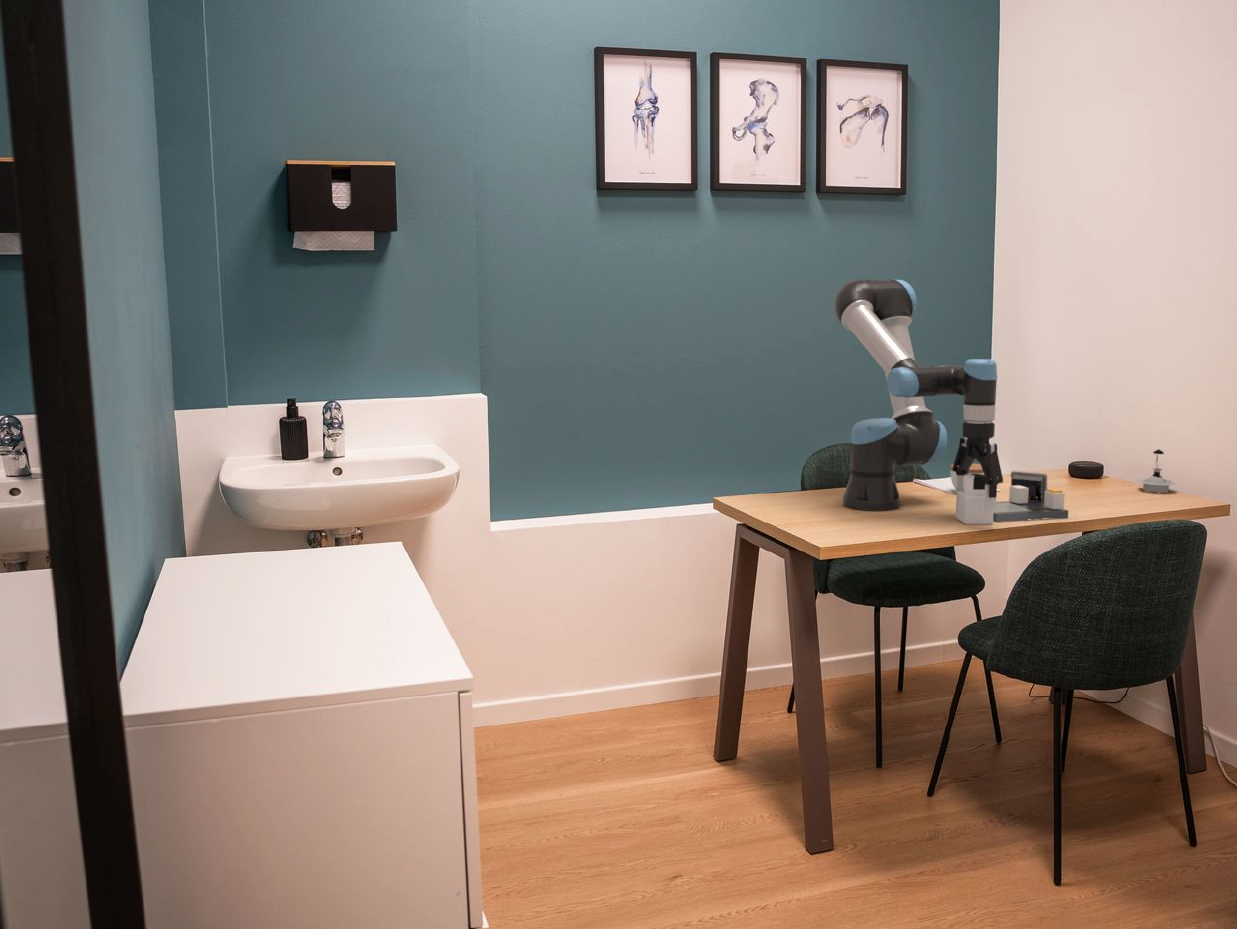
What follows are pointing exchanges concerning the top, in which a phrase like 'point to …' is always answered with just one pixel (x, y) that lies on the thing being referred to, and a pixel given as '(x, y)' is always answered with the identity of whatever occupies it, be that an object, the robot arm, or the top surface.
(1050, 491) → the block
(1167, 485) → the grey stand with stem
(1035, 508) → the panel
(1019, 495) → the breaker
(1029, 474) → the electrical switch
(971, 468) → the lidded jar
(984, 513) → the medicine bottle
